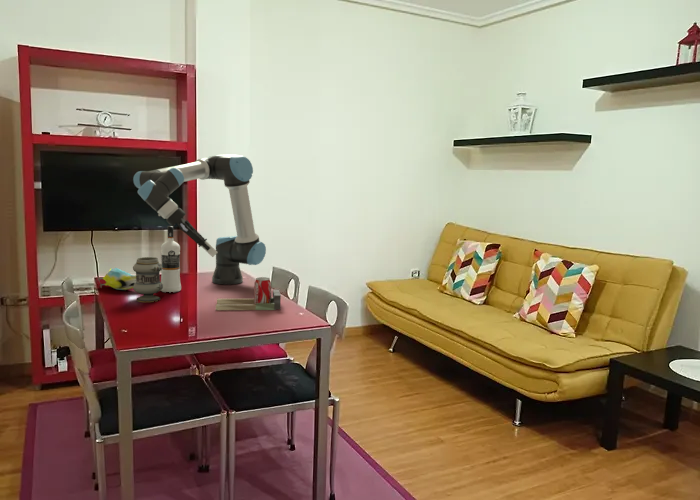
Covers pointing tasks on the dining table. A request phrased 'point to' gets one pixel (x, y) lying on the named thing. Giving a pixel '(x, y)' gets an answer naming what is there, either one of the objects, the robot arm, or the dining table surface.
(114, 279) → the decorative bird
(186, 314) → the dining table surface
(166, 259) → the vodka
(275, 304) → the guide channel
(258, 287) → the soda can
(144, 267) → the apothecary jar
